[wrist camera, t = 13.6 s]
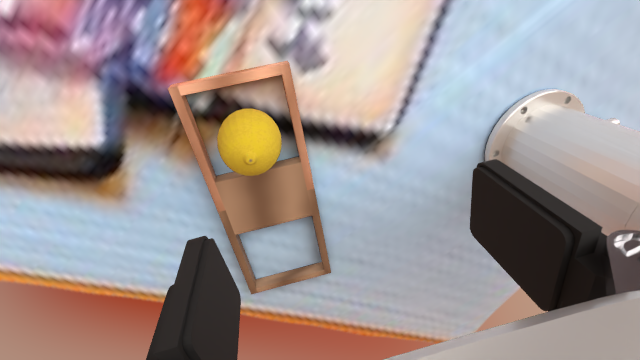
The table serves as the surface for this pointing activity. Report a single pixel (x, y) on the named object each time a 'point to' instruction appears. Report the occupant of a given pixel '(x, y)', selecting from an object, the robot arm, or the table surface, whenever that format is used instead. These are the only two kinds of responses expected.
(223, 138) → the lemon
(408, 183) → the table surface
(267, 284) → the wooden frame
